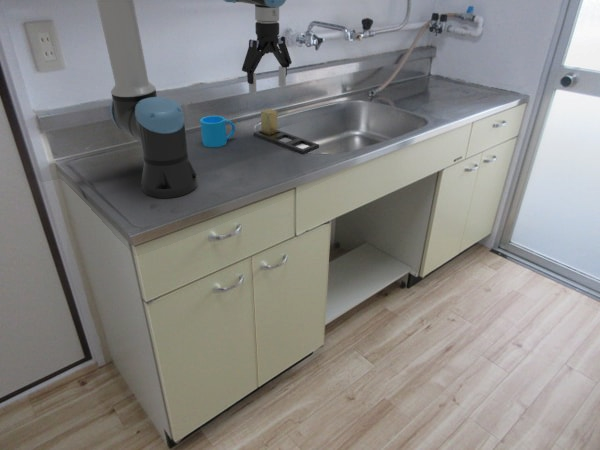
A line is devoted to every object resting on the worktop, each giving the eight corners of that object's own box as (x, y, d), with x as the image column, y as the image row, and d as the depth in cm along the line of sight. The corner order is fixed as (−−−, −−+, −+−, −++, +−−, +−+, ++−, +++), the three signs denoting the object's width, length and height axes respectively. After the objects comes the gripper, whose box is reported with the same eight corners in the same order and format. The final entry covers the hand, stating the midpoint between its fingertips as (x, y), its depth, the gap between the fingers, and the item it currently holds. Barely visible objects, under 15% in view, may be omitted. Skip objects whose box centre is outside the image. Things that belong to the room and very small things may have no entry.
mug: (208, 149, 152) (206, 125, 148) (198, 141, 158) (196, 118, 153) (240, 142, 158) (239, 119, 153) (230, 135, 163) (228, 112, 159)
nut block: (269, 138, 161) (268, 113, 156) (261, 135, 163) (260, 111, 158) (277, 135, 163) (277, 111, 158) (269, 133, 165) (269, 108, 161)
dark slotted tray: (303, 154, 149) (303, 151, 148) (253, 135, 163) (253, 132, 162) (319, 147, 154) (319, 144, 153) (269, 130, 168) (269, 127, 167)
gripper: (245, 26, 133) (247, 98, 144) (303, 20, 149) (301, 85, 160) (228, 23, 138) (232, 94, 148) (286, 17, 153) (285, 81, 164)
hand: (267, 90), depth 154 cm, fingers open, 13 cm apart
